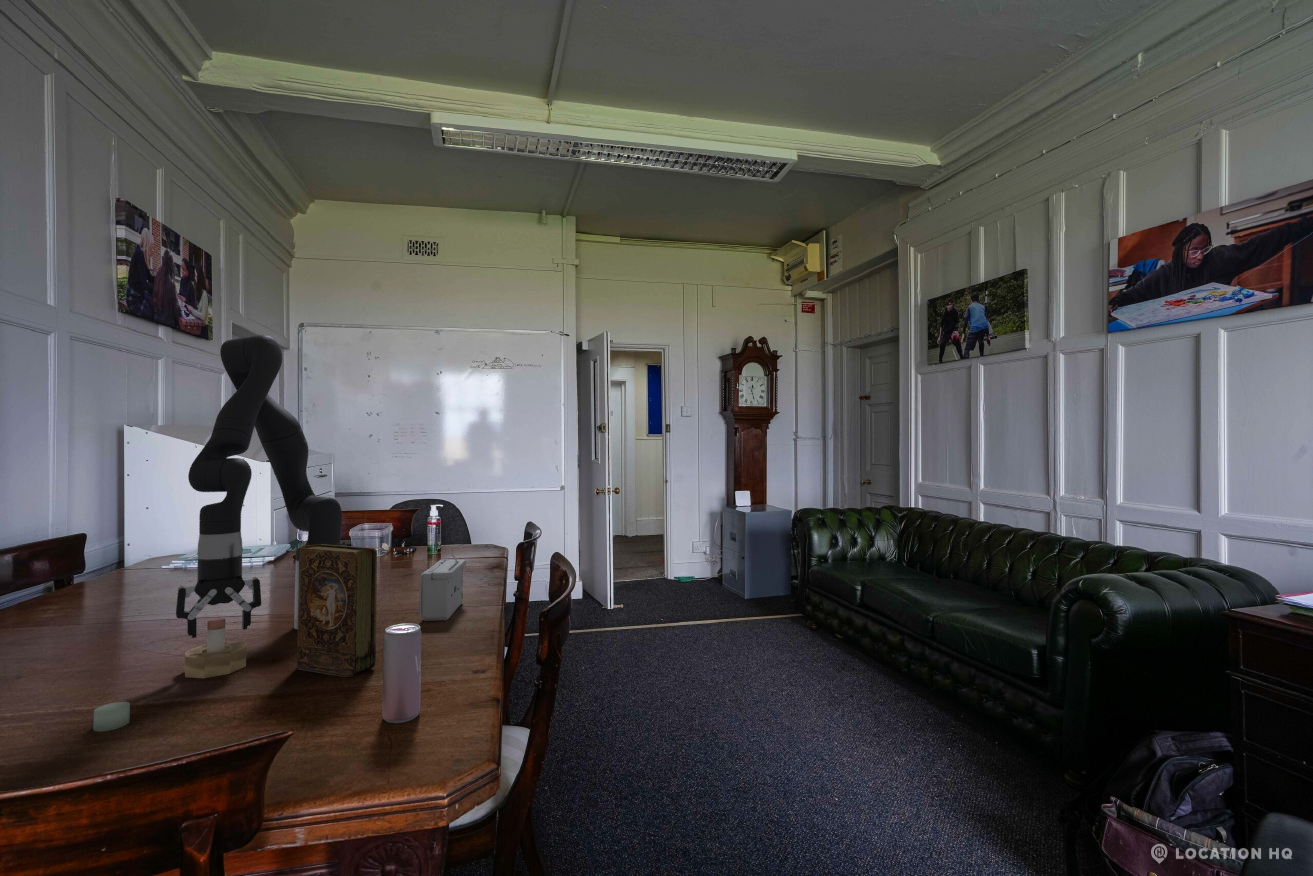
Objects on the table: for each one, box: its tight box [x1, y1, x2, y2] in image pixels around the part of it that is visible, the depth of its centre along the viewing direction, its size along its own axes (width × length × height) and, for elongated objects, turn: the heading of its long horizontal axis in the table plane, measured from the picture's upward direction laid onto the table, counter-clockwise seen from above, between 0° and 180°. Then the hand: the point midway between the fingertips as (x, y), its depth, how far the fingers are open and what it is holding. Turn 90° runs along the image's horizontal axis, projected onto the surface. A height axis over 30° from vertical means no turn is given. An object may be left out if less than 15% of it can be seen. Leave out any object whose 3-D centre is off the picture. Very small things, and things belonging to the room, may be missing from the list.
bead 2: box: [184, 640, 247, 679], centre depth 125 cm, size 10×10×4 cm
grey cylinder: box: [206, 617, 226, 653], centre depth 125 cm, size 3×3×10 cm
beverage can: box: [381, 623, 422, 724], centre depth 104 cm, size 6×6×15 cm
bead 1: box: [92, 701, 131, 732], centre depth 100 cm, size 4×4×3 cm
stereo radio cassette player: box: [419, 545, 467, 622], centre depth 171 cm, size 21×8×20 cm, turn 6°
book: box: [296, 544, 378, 678], centre depth 126 cm, size 16×6×25 cm, turn 71°
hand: (219, 632), depth 126 cm, fingers open, 8 cm apart
